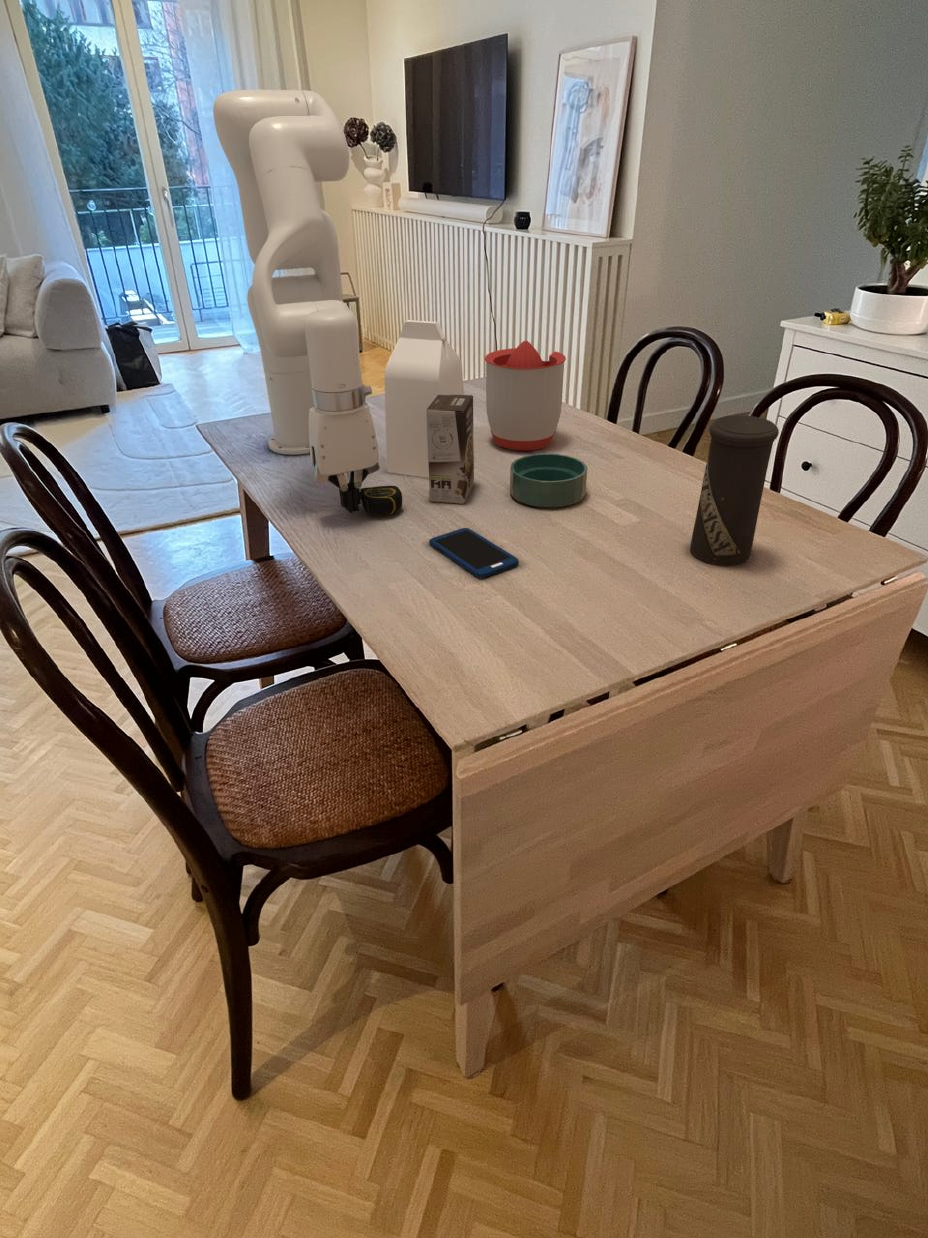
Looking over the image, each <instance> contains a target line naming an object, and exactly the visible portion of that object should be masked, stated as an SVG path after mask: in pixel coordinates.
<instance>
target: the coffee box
mask: <svg viewBox="0 0 928 1238" xmlns="http://www.w3.org/2000/svg"><path fill="white" fill-rule="evenodd" d="M426 411H427V439H428V463H429V478H428V482H429V483H428V484H429V485H428V487H429V502H437V503H450V504H458V505H459V504H461V505H462V504H465V503H466V501H467V500H468V497H469V495H470V493H471V491H472V489H473V486H474V485H475V451H474V449H475V447H474V437H475V436H474V395H472V394H464V395H437V397H436V398H435V399H434V401H433V402H432V403H431V404H430V405H429V407H428V408H427V409H426Z"/></svg>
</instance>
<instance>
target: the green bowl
mask: <svg viewBox="0 0 928 1238" xmlns="http://www.w3.org/2000/svg"><path fill="white" fill-rule="evenodd" d="M587 478H588V465H586V463H585V462H584V461H583V460H580V459H578V458H577V457H574V456H570V455H567V454H560V453H535V454H534V453H533V454H530V455H525V456H521V457H518V458H517V459H515V460H514V461H513V462H512V463H511V464H510V472H509V493H510V495H511V497H512V498H513V499H515V500H516V501H518V502H520V503H523V504H526V505H528V506H533V507H539V508H559V507H560V508H561V507H565V506H570V505H574V504H577V503H578V502H580V501H582V500H583V498H585V496H586V492H587Z"/></svg>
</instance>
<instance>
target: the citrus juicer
mask: <svg viewBox="0 0 928 1238" xmlns="http://www.w3.org/2000/svg"><path fill="white" fill-rule="evenodd" d="M484 361H485V405H486V415H487V421H488V426H489V428H490V434H491V436H492V439H493V441H494V443H495V444H496V445H497V446H499V447H501V448H503V449H508V450H513V451H524V452H533V451H534V450H539V449H542V448H546V447H547V446H549V445H550V444H551V443H552V440H553V439H554V437H555V434H556V432H557V431H556V430H557V428H558V424H559V422H560V417H561V414H562V407H563V406H562V405H563V393H564V392H563V391H564V372H565V362H566V361H567V358H566V355H564V353H562V352H558V351H556V350H555V351H553V352H552V353H551V354H550V355H548V360H543V359H542V357H541V355H540V354H539V352H538V351H537V349H536V348H535V347H534V345H532V343H531V342H530V341H528V340H523V341H522V342H521V343H519V344H518V346H517V347H513V348H504V349H499V350H494V351H492V352H489V353H488V354H486V355H485V357H484Z"/></svg>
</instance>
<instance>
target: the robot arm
mask: <svg viewBox="0 0 928 1238" xmlns="http://www.w3.org/2000/svg"><path fill="white" fill-rule="evenodd" d="M212 115H213V122H214V126H215V131H216V135H217V138H218V140H219V144H220V146H221V148H222V150H223V151H222V152H223V153H224V155H225V157H226V159H227V161H228V164H229V165H230V168H231V170H232V172H233V175H234V177H235V180H236V184H237V188H238V194H239V201H240V207H241V214H242V220H243V221H242V222H243V228H244V234H245V239H246V240H245V241H246V246H247V249H248V254H249V256H250V260H251V261H252V263H253V265H254V266H253V272H252V282H251V283H252V284H251V285H250V287H249V288H248V290H247V295H246V301H247V306H248V311H249V314H250V317H251V320H252V323H253V326H254V329H255V333H256V337H257V341H258V345H259V350H260V356H261V361H262V366H263V373H264V379H265V385H266V392H267V397H268V404H269V409H270V410H269V411H270V415H271V416H270V417H271V421H272V427H273V428H272V429H273V433H274V435H273V436H271V437H270V438H269V440H268V442H267V445H268V448H269V450H270V451H272V452H274V453H277V454H280V455H290V456H291V455H292V456H293V455H295V456H296V455H305V454H307V455H308V454H310V462H311V465H312V466H313V468H314V472H313V473H314V476H313V478H314V480H315V481H316V482H317V483H327V484H328V483H331V484H332V485H333V486H335V487H337V488H338V493H339V500H340V501H339V502H340V506H341V508H343V509H345V510H346V512H347V513H348V514H354V512H355V513H359V512H360V505H362V502H361V498H360V489H361V488H362V486H363V482H365V480H366V478H367V477H368V475H372V474H373V473H375V472H378V471H379V470H380V464H379V445H378V440H377V439H378V438H377V434H376V428H375V425H374V420H373V415H372V413H371V409H370V405H369V404H368V403H367V402H366V398H367V396H370V395H372V394H373V389H372V386H371V385H365V384H364V383H363V376H362V363H361V354H360V343H359V334H358V332H359V331H358V323H357V319H356V317H355V314H354V312H353V311H352V310H351V309H350V307H349V306H348V305H347V304H346V303H345V302H344V297H343V296H344V295H343V284H342V273H341V262H340V249H339V248H340V247H339V241H338V235H337V231H336V226H335V224H334V222H333V219H332V217H331V216H330V214H329V213H328V212H327V211H325V210H324V209H322V205H321V202H320V197H319V192H318V187H317V183H319V182H321V183H322V182H323V183H324V182H339V181H342V180H344V178H345V177H346V176H347V174H348V172H349V167H350V151H349V146H348V145H349V144H348V142H347V141H348V140H347V138H346V134H345V131H344V129H343V126H342V124H341V123H340V120H339V119H338V117H337V115H336V113H335V112H334V111H333V110H332V108H331V106H330V105H329V104H328V102H327V101H326V100H325V98H324V97H323V96H322V95H321V94H319V93H318V92H316V91H313V90H307V89H265V88H264V89H263V88H262V89H237V90H236V89H235V90H230V91H226V92H223V93H221V94H219V95H218V96H217V97H216V98H215V99H214V102H213V107H212ZM309 268H311V269H312V270H313V271H314V274H301V275H285V276H284V275H283V276H274V273H275V271H281V270H283V271H284V270H296V269H309ZM346 473H348V475H349V476H348V482H347V478H346V475H345V474H346Z"/></svg>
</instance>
